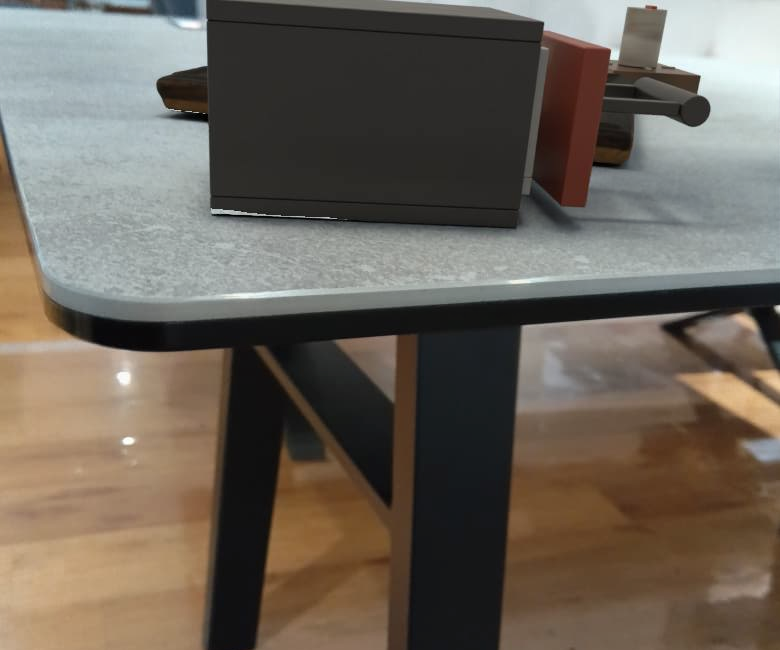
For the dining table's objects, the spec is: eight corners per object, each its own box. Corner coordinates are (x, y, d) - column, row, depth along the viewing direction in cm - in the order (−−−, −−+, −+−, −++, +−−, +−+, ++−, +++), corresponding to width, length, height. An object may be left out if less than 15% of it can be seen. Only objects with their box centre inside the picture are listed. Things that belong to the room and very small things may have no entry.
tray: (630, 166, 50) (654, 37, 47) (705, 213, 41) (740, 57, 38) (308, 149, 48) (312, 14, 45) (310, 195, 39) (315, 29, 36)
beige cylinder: (612, 62, 94) (622, 2, 91) (648, 64, 94) (659, 5, 92) (624, 66, 90) (635, 4, 88) (662, 68, 91) (674, 7, 88)
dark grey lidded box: (472, 172, 50) (490, 7, 46) (517, 228, 40) (545, 21, 36) (229, 160, 49) (227, -12, 45) (210, 214, 38) (205, -3, 34)
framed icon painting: (696, 175, 53) (706, 126, 52) (135, 124, 56) (132, 77, 55) (623, 97, 88) (628, 66, 86) (276, 67, 90) (276, 37, 89)
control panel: (653, 86, 99) (657, 61, 98) (695, 101, 88) (701, 73, 87) (575, 81, 98) (579, 56, 97) (609, 96, 87) (613, 68, 86)
